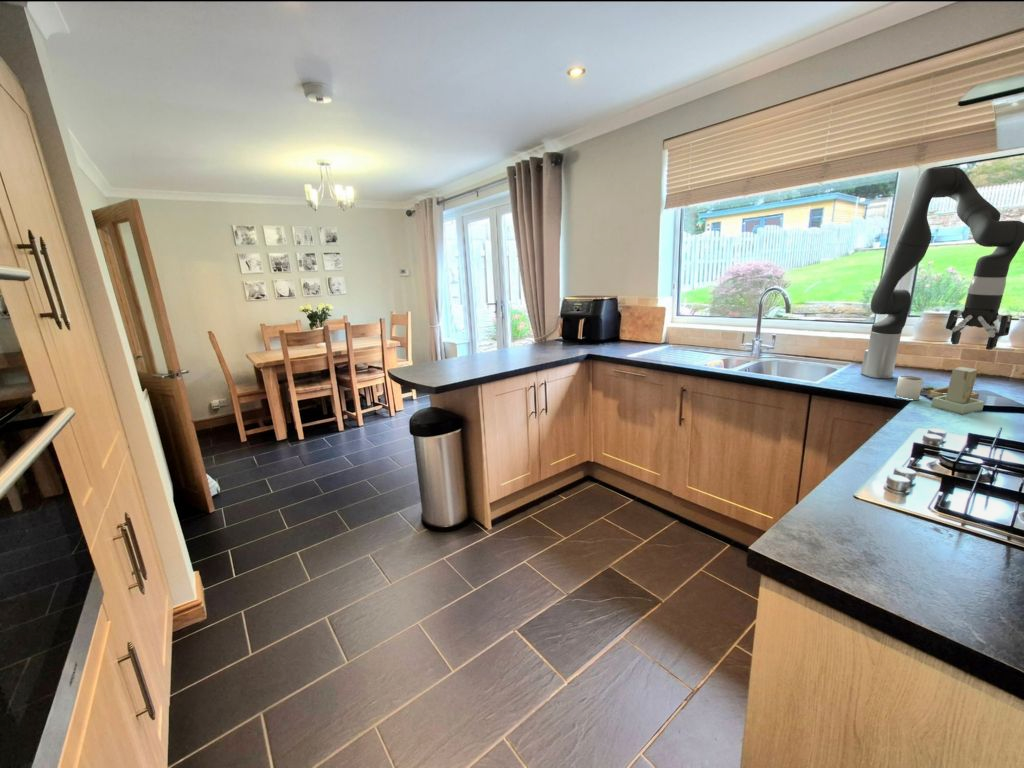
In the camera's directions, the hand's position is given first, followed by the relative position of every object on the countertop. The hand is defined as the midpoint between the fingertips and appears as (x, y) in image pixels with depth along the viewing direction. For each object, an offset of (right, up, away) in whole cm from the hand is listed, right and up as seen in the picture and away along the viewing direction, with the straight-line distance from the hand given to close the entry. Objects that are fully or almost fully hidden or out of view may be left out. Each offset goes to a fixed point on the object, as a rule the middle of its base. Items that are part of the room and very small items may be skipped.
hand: (971, 346), depth 146 cm
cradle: (+6, -16, +16) cm, 23 cm away
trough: (0, -19, +6) cm, 20 cm away
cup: (-6, -16, +17) cm, 24 cm away
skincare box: (0, -19, +6) cm, 19 cm away
